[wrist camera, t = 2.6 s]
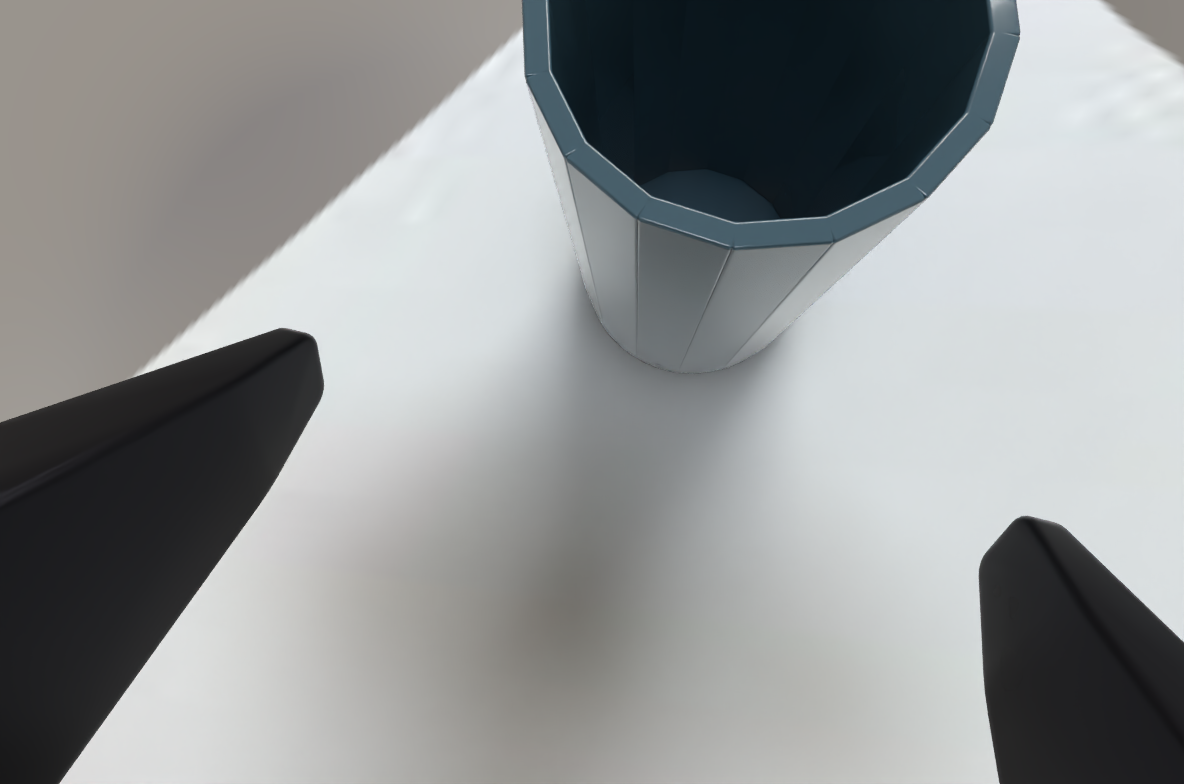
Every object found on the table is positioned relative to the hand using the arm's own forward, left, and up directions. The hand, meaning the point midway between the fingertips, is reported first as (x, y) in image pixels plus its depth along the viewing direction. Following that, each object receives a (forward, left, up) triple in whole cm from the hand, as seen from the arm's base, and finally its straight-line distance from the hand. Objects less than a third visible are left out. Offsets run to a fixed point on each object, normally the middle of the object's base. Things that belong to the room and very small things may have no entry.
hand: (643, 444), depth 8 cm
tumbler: (+6, 0, -12) cm, 14 cm away
